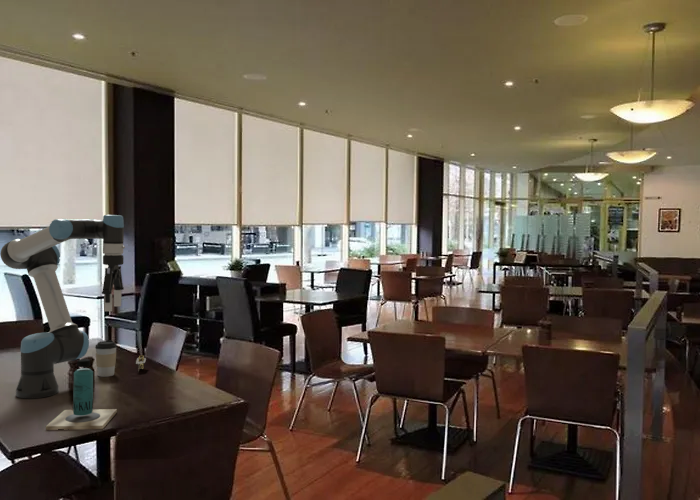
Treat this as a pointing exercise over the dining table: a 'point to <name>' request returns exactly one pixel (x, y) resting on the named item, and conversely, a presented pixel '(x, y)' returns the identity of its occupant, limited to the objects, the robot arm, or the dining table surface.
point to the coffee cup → (105, 358)
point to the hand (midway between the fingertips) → (113, 308)
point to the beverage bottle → (83, 389)
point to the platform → (140, 362)
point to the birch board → (82, 420)
